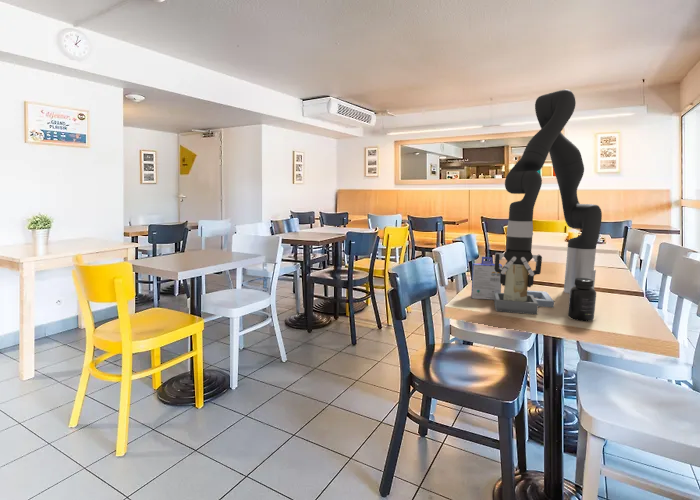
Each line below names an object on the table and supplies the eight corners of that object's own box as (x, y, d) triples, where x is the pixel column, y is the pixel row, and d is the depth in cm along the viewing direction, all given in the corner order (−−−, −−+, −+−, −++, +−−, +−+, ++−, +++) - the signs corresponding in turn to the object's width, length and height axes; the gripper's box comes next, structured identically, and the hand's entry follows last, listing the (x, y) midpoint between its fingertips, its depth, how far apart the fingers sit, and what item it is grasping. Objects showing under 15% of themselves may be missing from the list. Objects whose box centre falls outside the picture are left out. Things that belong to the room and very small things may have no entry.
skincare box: (513, 303, 129) (516, 265, 128) (502, 300, 133) (505, 263, 132) (527, 301, 132) (530, 263, 131) (516, 298, 136) (519, 261, 135)
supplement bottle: (562, 315, 126) (566, 276, 124) (584, 314, 127) (587, 276, 125) (577, 322, 119) (580, 281, 118) (599, 321, 120) (603, 281, 118)
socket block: (546, 297, 148) (546, 291, 148) (553, 307, 134) (554, 301, 134) (507, 294, 151) (507, 289, 151) (511, 304, 138) (511, 298, 138)
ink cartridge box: (498, 296, 148) (501, 257, 146) (501, 300, 142) (503, 259, 140) (470, 295, 150) (472, 255, 148) (471, 298, 144) (473, 258, 142)
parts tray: (531, 305, 137) (532, 295, 136) (537, 314, 126) (538, 303, 126) (493, 302, 140) (494, 292, 140) (495, 311, 130) (496, 300, 129)
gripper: (542, 234, 131) (538, 285, 134) (494, 233, 135) (491, 282, 138) (546, 237, 124) (542, 290, 127) (496, 235, 128) (493, 287, 131)
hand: (516, 285), depth 132 cm, fingers closed on skincare box, 7 cm apart
